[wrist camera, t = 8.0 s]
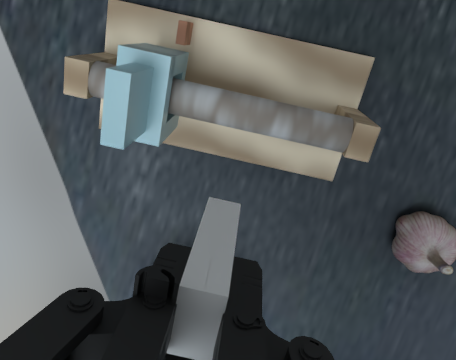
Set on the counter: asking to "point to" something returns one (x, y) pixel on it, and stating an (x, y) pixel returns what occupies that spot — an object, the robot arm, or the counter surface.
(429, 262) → the garlic bulb
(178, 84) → the pipe stand
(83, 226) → the counter surface
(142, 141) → the collar
